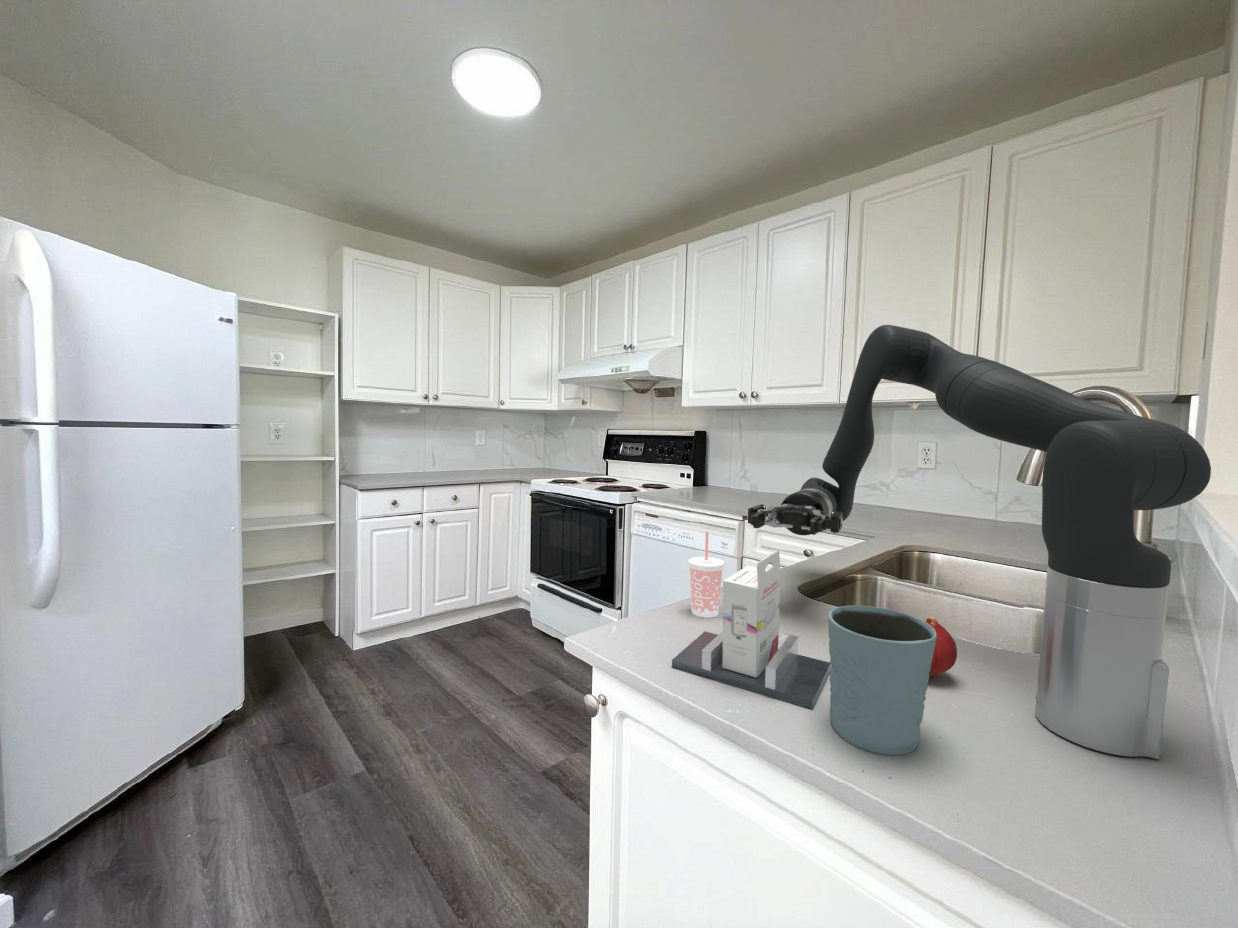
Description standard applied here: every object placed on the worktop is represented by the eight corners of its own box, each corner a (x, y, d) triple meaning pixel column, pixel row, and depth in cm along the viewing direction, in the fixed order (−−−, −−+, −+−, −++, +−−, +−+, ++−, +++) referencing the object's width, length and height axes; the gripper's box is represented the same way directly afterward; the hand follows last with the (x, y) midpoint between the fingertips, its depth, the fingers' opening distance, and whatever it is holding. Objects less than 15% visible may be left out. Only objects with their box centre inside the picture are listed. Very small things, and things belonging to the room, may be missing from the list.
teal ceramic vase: (806, 725, 55) (811, 618, 54) (848, 693, 62) (853, 597, 61) (907, 775, 48) (915, 652, 47) (943, 732, 54) (950, 623, 53)
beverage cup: (679, 611, 88) (681, 531, 87) (703, 603, 92) (705, 527, 90) (706, 622, 83) (708, 538, 82) (730, 613, 87) (733, 533, 86)
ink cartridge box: (744, 644, 73) (747, 543, 71) (779, 653, 70) (782, 549, 69) (719, 668, 66) (722, 556, 64) (756, 679, 63) (760, 563, 62)
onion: (906, 660, 70) (909, 604, 70) (956, 673, 67) (960, 614, 66) (900, 678, 66) (904, 618, 65) (954, 692, 62) (958, 629, 62)
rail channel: (830, 669, 68) (831, 644, 67) (812, 709, 58) (813, 680, 58) (704, 637, 77) (705, 615, 77) (671, 666, 68) (672, 641, 68)
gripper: (767, 487, 94) (738, 496, 81) (851, 492, 87) (834, 504, 73) (766, 526, 95) (737, 543, 81) (849, 535, 87) (832, 555, 74)
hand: (783, 524), depth 77 cm, fingers open, 8 cm apart
